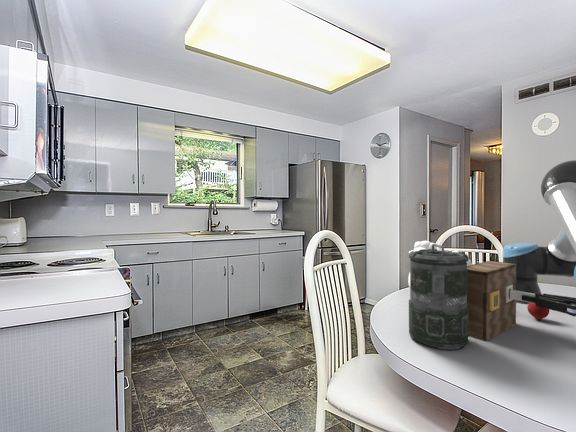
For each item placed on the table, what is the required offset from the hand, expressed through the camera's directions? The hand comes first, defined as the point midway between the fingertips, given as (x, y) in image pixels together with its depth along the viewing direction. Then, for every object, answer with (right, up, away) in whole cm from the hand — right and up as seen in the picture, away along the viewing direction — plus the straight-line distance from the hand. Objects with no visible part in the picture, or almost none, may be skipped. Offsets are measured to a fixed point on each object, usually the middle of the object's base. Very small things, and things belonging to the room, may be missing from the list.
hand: (511, 294), depth 98 cm
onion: (+15, -11, +7) cm, 19 cm away
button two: (-11, -3, -5) cm, 12 cm away
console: (-7, -11, 0) cm, 13 cm away
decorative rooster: (-8, -11, +29) cm, 32 cm away
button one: (-1, -2, +3) cm, 4 cm away
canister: (-27, -12, -7) cm, 30 cm away
